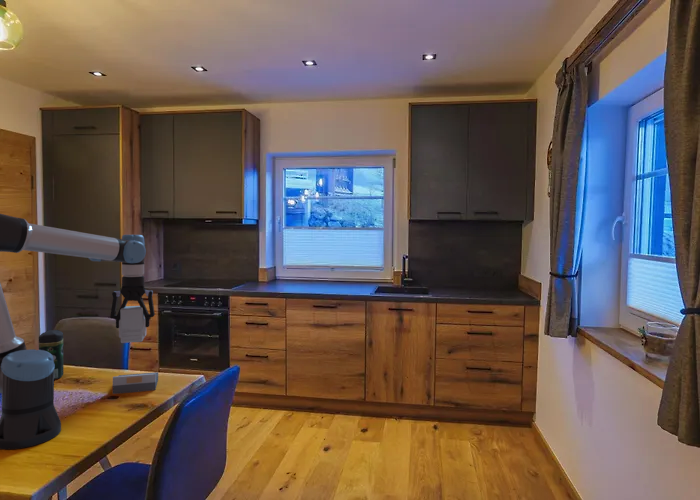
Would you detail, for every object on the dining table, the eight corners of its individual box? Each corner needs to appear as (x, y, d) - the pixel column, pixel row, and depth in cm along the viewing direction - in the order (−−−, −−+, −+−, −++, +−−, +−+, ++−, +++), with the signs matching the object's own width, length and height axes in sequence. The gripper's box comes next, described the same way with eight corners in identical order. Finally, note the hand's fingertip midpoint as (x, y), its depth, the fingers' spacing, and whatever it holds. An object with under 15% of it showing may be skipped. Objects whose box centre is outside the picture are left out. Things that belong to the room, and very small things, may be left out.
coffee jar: (41, 375, 169) (41, 329, 169) (64, 372, 173) (64, 327, 173) (36, 382, 161) (36, 334, 160) (61, 380, 165) (61, 332, 164)
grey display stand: (155, 390, 156) (155, 374, 156) (112, 394, 151) (112, 377, 151) (158, 379, 167) (158, 364, 167) (118, 383, 163) (118, 367, 162)
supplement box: (144, 337, 163) (145, 305, 163) (142, 342, 156) (142, 308, 156) (123, 338, 161) (123, 305, 161) (119, 343, 154) (119, 309, 154)
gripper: (163, 274, 164) (163, 332, 165) (105, 274, 158) (105, 335, 159) (161, 276, 157) (160, 337, 158) (99, 276, 151) (99, 340, 152)
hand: (132, 336), depth 159 cm, fingers closed on supplement box, 7 cm apart
